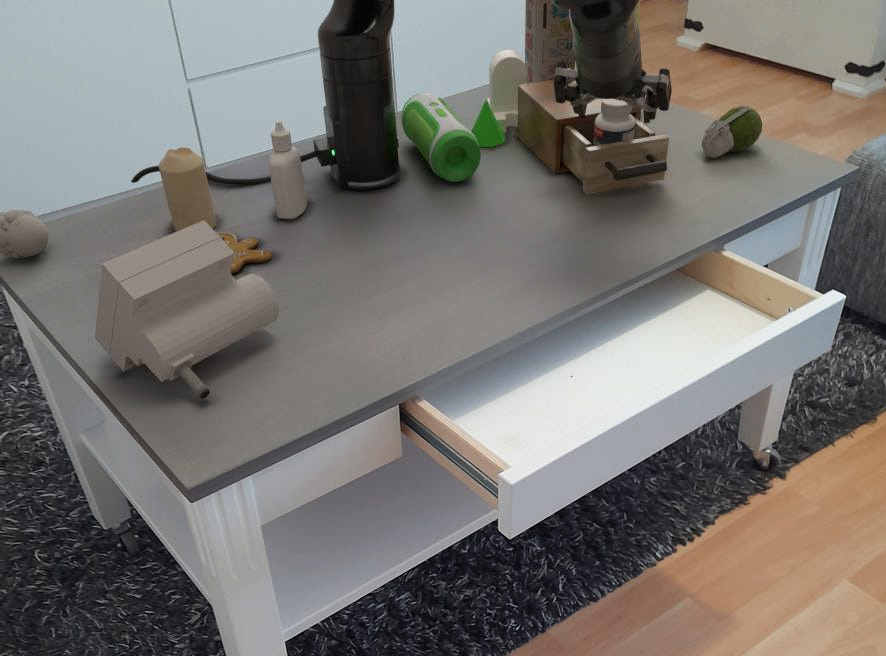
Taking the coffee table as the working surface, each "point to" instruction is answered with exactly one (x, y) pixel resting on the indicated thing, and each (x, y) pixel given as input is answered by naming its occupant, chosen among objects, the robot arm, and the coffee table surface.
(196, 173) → the candle
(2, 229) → the beige rounded lump
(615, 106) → the pill bottle
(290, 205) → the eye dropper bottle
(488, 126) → the gemstone
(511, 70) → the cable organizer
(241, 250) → the cookie
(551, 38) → the juice carton
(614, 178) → the dresser drawer
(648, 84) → the robot arm
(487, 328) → the coffee table surface
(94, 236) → the coffee table surface
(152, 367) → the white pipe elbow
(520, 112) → the wooden mini dresser
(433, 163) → the speaker
